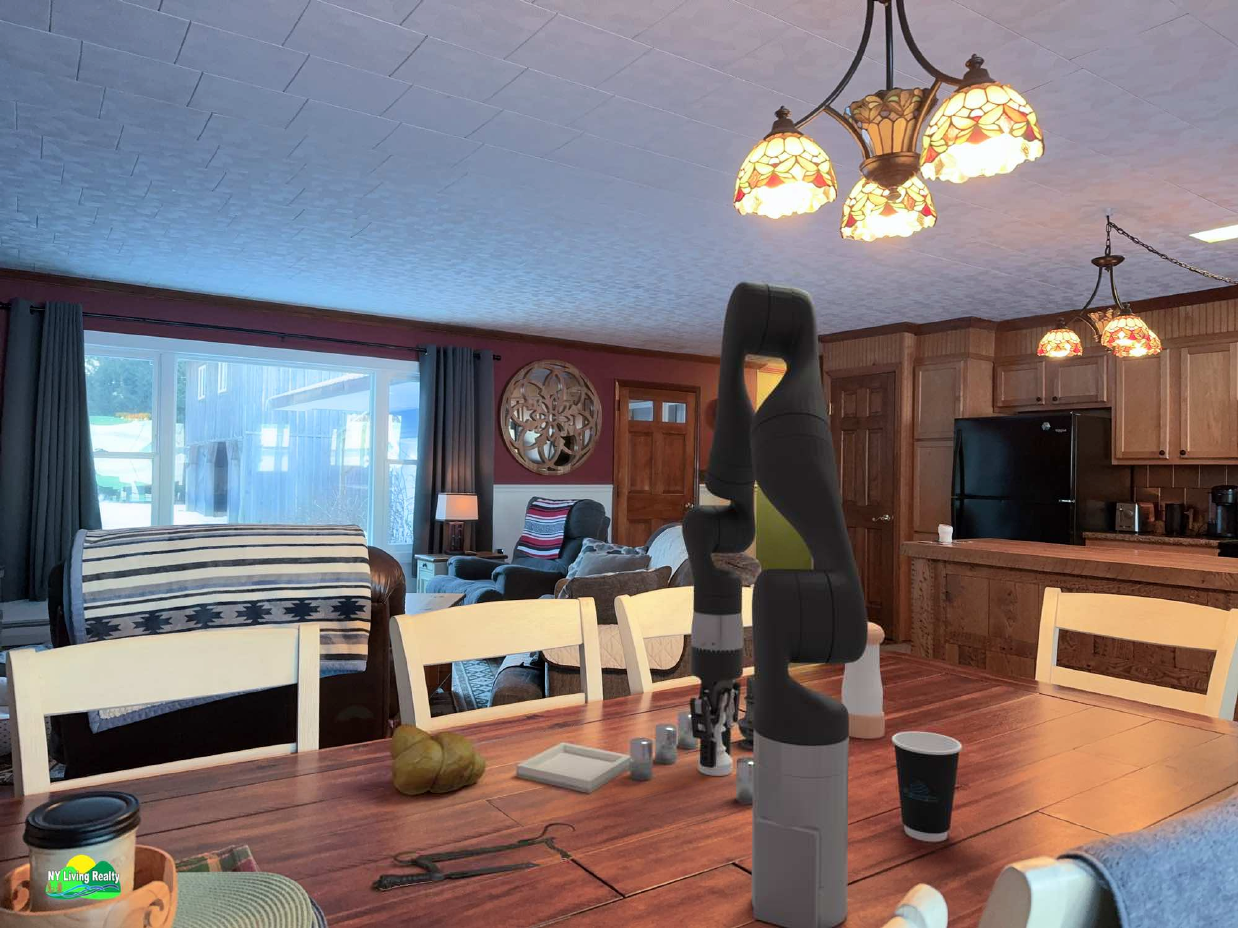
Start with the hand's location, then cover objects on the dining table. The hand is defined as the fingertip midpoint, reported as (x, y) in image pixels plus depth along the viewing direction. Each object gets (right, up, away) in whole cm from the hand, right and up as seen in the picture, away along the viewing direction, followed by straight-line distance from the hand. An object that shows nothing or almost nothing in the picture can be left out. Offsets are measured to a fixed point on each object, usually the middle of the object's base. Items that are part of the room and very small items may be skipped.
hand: (715, 759), depth 122 cm
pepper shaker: (+27, -2, +19) cm, 33 cm away
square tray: (-20, -1, -1) cm, 20 cm away
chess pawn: (0, -2, 0) cm, 2 cm away
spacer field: (0, -1, 0) cm, 1 cm away
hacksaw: (-29, -1, -28) cm, 41 cm away
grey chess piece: (+8, -2, +12) cm, 14 cm away
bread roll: (-38, -1, -8) cm, 39 cm away
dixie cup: (+23, -2, -21) cm, 31 cm away
